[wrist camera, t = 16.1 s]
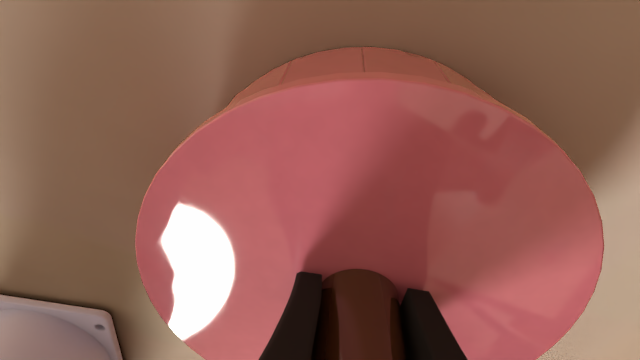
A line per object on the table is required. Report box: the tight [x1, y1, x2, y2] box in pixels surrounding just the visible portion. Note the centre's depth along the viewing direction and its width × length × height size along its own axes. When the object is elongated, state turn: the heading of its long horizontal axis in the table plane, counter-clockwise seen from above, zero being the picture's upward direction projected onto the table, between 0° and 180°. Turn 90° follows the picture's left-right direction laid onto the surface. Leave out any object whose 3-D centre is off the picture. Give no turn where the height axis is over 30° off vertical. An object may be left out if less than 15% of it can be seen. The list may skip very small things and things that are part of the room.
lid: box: [135, 72, 604, 360], centre depth 9 cm, size 13×13×6 cm
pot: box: [227, 47, 493, 107], centre depth 13 cm, size 12×12×4 cm
